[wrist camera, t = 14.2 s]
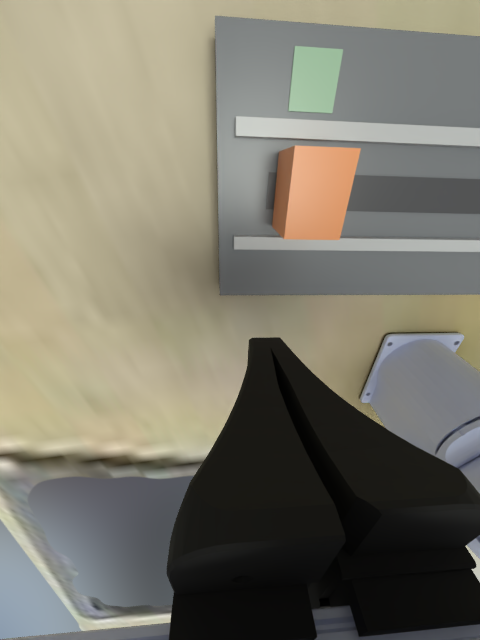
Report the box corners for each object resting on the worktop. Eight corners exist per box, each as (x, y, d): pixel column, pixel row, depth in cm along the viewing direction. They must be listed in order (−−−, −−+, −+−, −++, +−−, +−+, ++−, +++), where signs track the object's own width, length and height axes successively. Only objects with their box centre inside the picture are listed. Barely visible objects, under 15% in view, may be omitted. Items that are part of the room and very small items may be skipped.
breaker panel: (468, 284, 22) (496, 297, 19) (219, 284, 20) (219, 298, 18) (590, 64, 14) (658, 43, 12) (215, 36, 13) (214, 8, 11)
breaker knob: (317, 227, 16) (339, 240, 13) (272, 226, 16) (284, 239, 13) (330, 153, 14) (361, 148, 11) (279, 151, 14) (295, 145, 11)
